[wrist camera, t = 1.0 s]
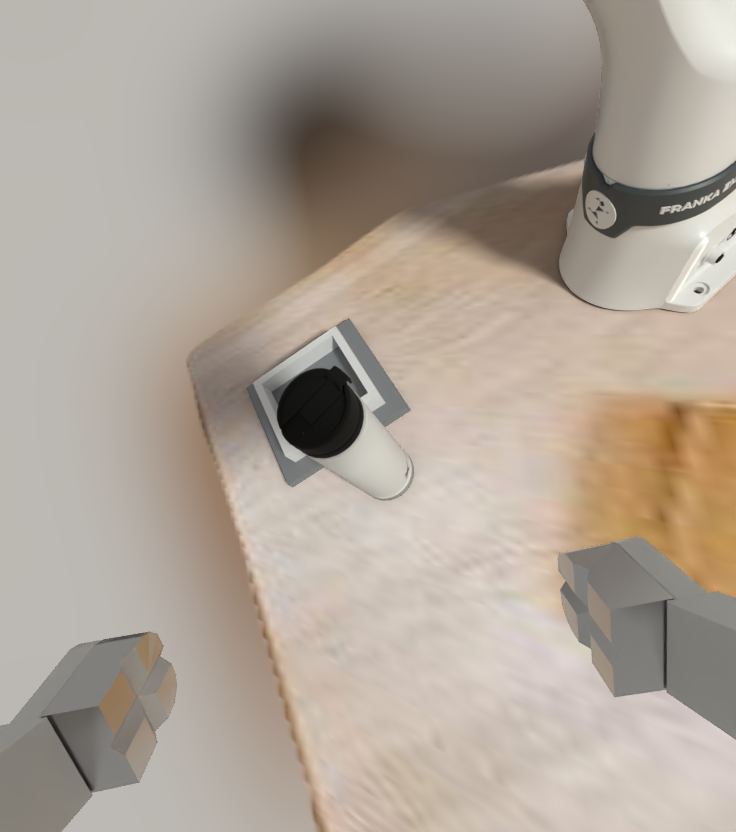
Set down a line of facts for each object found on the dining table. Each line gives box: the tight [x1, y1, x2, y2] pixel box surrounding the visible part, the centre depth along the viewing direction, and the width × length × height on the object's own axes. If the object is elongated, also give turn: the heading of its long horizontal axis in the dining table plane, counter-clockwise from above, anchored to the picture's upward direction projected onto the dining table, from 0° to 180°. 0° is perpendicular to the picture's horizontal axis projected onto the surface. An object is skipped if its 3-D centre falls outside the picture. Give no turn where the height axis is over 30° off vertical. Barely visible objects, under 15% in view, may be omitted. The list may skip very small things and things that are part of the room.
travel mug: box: [277, 366, 414, 500], centre depth 38 cm, size 6×7×20 cm
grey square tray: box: [247, 318, 410, 487], centre depth 52 cm, size 17×16×4 cm
